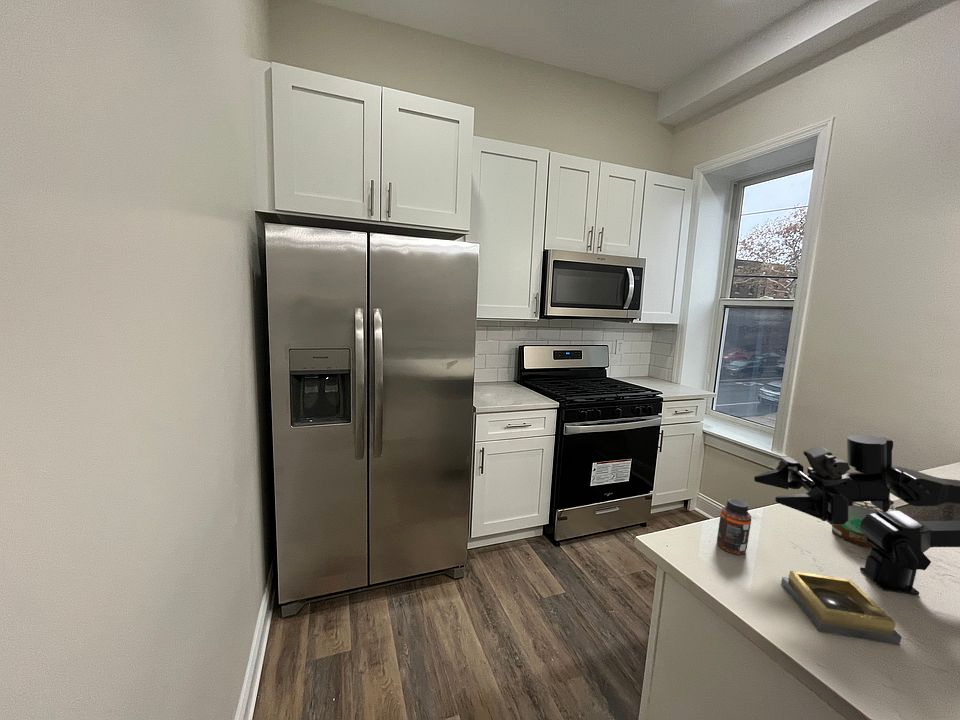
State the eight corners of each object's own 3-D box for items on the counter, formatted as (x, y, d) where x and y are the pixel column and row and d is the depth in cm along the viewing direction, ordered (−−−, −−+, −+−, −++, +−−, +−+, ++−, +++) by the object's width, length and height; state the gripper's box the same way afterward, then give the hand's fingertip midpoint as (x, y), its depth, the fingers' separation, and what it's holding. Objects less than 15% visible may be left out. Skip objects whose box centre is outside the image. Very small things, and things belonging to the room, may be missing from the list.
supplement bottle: (751, 557, 89) (758, 511, 87) (722, 553, 90) (729, 507, 88) (739, 542, 95) (746, 497, 93) (712, 538, 96) (718, 494, 94)
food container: (835, 543, 96) (842, 505, 94) (824, 530, 101) (831, 493, 100) (902, 557, 91) (911, 517, 90) (887, 542, 97) (895, 504, 95)
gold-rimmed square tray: (848, 593, 79) (851, 577, 78) (899, 645, 67) (904, 626, 66) (781, 583, 81) (784, 567, 80) (819, 631, 69) (823, 613, 68)
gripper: (821, 433, 89) (743, 437, 93) (886, 469, 71) (787, 472, 75) (821, 480, 91) (745, 482, 94) (885, 526, 73) (788, 526, 76)
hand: (764, 488), depth 85 cm, fingers open, 9 cm apart
